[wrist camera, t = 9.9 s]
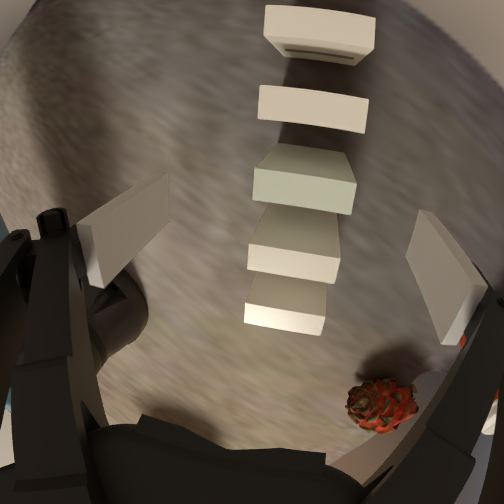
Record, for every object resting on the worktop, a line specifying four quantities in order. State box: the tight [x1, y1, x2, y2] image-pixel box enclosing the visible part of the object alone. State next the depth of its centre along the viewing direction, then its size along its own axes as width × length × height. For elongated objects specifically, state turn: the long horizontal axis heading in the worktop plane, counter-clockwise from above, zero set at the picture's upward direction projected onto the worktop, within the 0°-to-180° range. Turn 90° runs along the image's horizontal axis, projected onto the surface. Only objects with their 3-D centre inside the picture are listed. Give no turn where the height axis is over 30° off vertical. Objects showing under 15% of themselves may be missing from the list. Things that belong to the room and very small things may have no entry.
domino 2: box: [258, 85, 369, 134], centre depth 19 cm, size 6×2×10 cm, turn 87°
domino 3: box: [253, 143, 357, 215], centre depth 22 cm, size 6×2×10 cm, turn 87°
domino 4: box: [247, 202, 341, 284], centre depth 24 cm, size 6×2×10 cm, turn 87°
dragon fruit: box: [345, 378, 419, 434], centre depth 35 cm, size 8×8×12 cm
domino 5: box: [244, 271, 327, 336], centre depth 27 cm, size 6×2×10 cm, turn 87°
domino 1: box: [264, 5, 376, 66], centre depth 17 cm, size 6×2×10 cm, turn 87°
